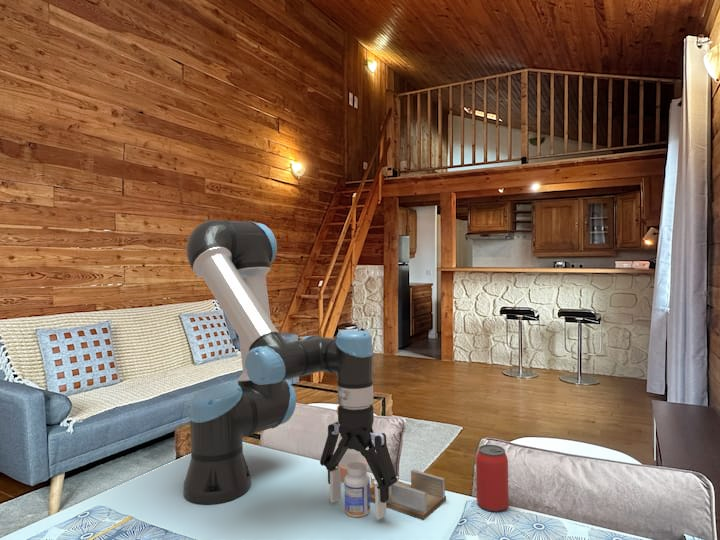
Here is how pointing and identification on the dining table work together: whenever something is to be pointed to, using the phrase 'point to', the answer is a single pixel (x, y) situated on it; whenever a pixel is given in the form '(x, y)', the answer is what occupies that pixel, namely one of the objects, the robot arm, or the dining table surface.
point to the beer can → (492, 478)
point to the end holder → (418, 491)
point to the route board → (432, 504)
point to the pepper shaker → (349, 459)
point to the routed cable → (374, 483)
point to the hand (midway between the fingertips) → (357, 507)
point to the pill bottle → (357, 490)
